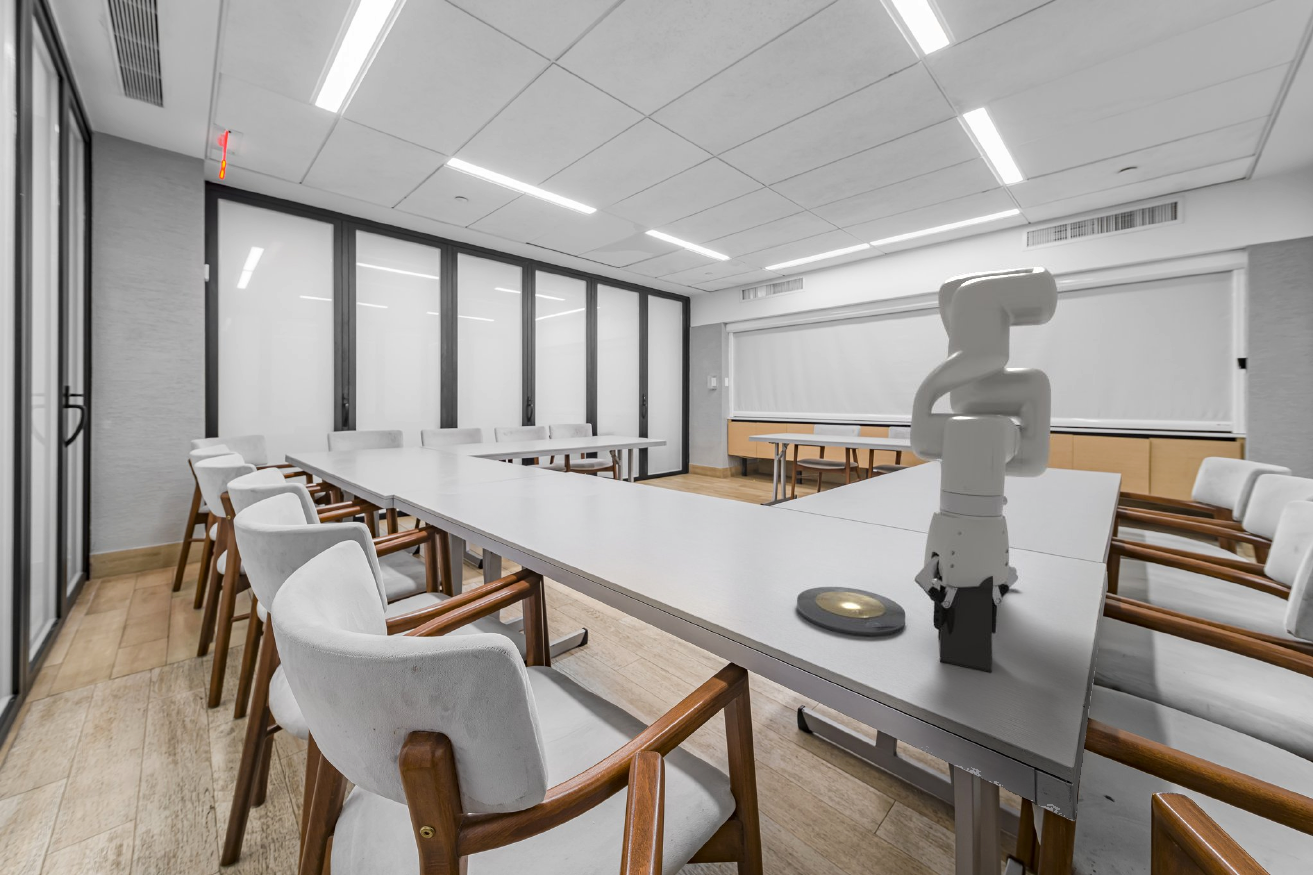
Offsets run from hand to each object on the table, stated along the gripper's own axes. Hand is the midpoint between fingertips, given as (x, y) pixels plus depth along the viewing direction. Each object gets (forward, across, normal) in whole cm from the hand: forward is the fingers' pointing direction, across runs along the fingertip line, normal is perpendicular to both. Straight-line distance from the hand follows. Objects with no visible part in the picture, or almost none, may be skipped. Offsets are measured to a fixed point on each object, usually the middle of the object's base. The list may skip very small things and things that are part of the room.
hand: (964, 629), depth 72 cm
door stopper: (+4, 0, 0) cm, 4 cm away
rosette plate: (+4, +9, -15) cm, 18 cm away
